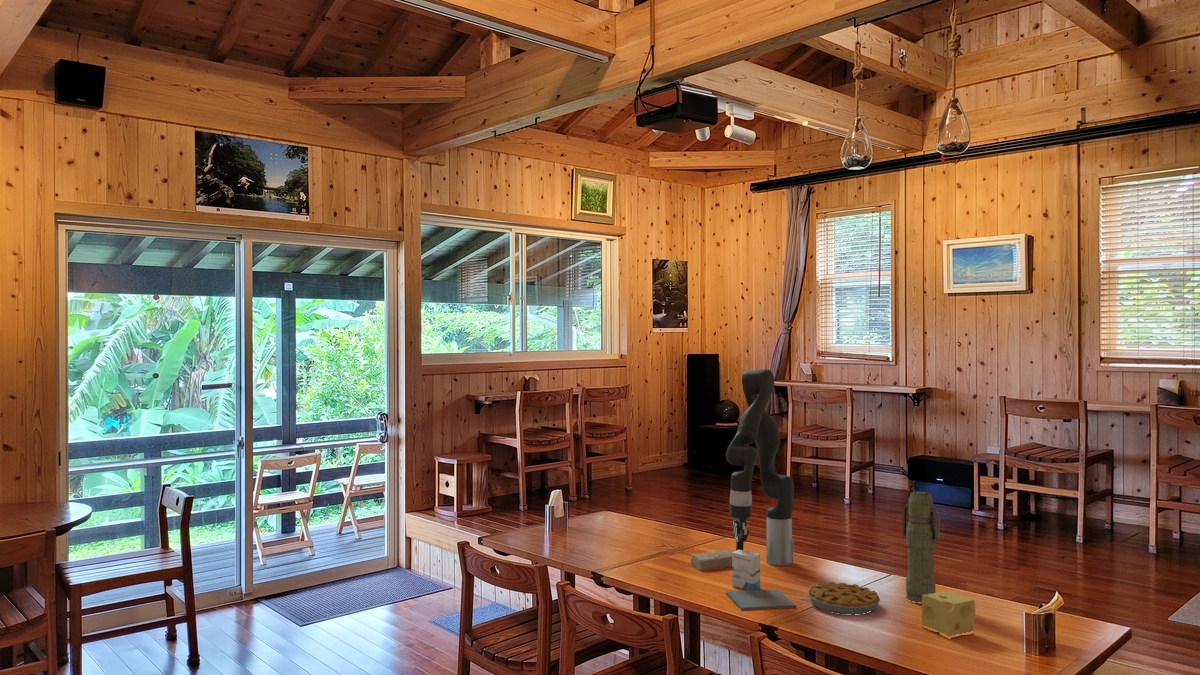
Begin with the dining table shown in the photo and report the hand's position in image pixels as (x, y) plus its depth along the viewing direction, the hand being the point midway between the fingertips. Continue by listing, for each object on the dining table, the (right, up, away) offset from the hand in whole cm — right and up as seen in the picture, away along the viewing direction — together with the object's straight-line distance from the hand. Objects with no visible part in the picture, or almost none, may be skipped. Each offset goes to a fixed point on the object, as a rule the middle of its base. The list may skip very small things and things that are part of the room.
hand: (739, 552), depth 273 cm
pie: (+29, -11, -23) cm, 39 cm away
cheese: (+52, -11, -45) cm, 70 cm away
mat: (+3, -11, -19) cm, 22 cm away
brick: (-6, -11, +21) cm, 24 cm away
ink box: (+1, -11, -5) cm, 12 cm away
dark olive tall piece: (+56, -11, -18) cm, 59 cm away
